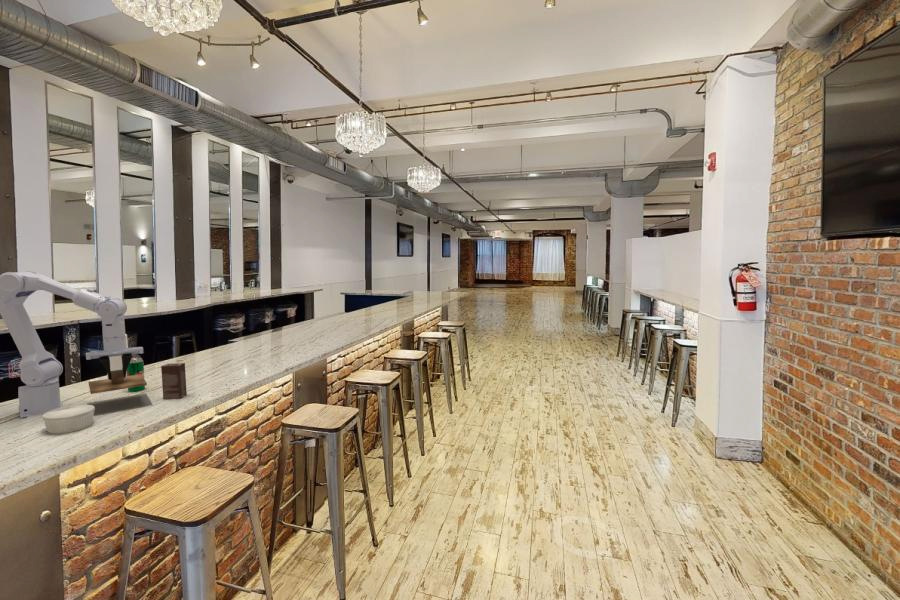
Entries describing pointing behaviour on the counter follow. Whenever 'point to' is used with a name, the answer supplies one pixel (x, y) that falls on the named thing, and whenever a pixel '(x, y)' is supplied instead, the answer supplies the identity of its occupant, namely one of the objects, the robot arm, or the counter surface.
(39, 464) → the counter surface
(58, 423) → the ramekin
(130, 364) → the soda can
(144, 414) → the counter surface
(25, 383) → the robot arm
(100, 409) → the mat
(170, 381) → the box
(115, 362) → the milk
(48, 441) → the counter surface
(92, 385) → the lid
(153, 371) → the counter surface
